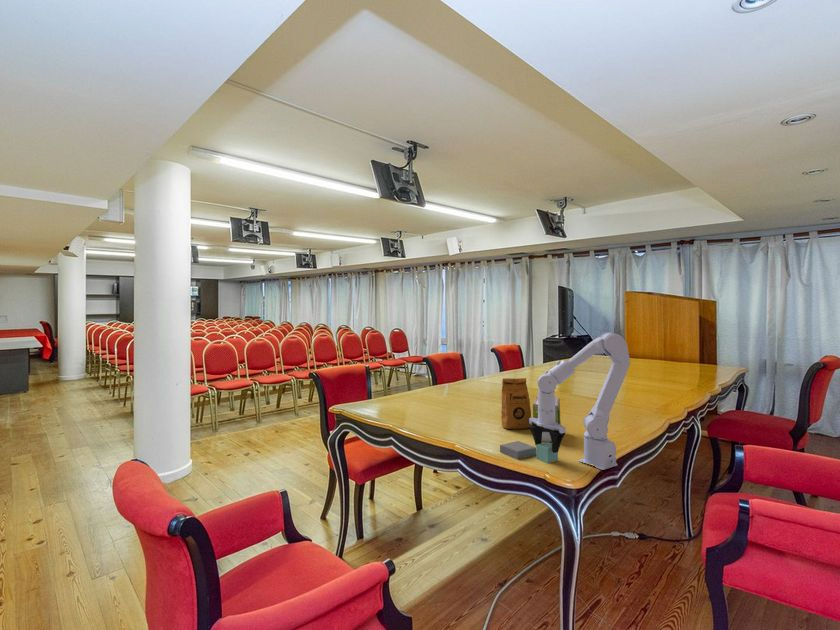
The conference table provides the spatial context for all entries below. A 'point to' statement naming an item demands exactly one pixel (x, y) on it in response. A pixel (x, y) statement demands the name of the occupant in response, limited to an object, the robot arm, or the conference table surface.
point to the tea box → (557, 418)
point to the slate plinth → (518, 450)
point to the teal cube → (546, 453)
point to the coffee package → (515, 404)
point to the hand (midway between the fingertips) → (546, 449)
